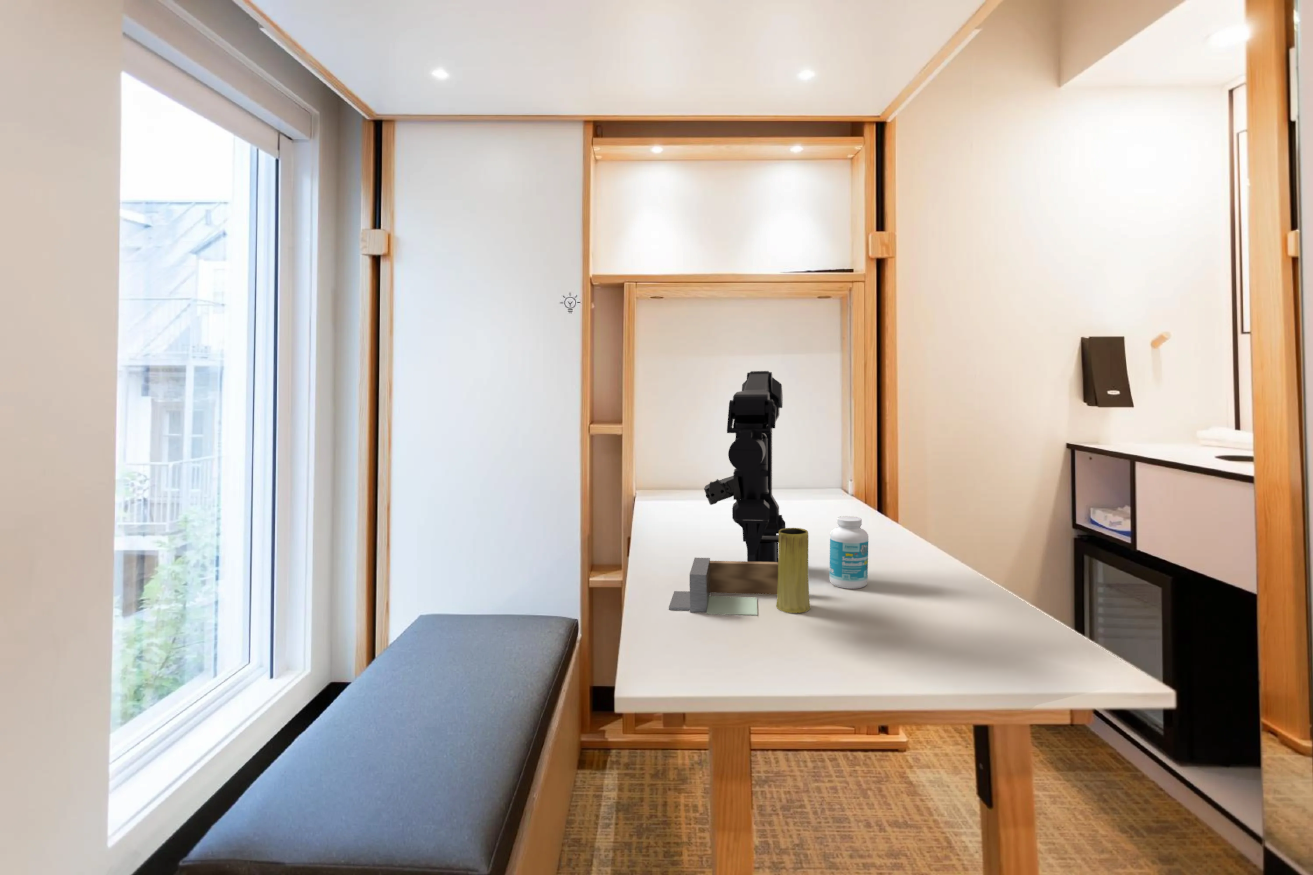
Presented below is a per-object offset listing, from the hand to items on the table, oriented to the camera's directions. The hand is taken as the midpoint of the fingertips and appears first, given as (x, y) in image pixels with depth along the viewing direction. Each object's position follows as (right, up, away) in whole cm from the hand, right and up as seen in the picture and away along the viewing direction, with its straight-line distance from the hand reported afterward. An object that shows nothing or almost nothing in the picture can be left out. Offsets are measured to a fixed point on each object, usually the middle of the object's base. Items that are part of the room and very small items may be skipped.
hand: (752, 548), depth 121 cm
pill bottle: (+21, -10, +13) cm, 27 cm away
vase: (+7, -11, 0) cm, 13 cm away
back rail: (0, -10, +9) cm, 13 cm away
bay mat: (-3, -11, +2) cm, 12 cm away
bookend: (-11, -11, +4) cm, 16 cm away
